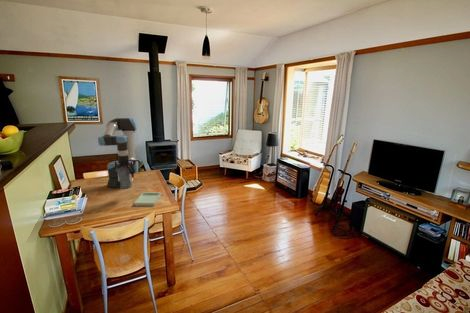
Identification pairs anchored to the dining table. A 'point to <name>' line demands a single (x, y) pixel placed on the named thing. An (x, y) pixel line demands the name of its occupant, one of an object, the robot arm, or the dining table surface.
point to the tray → (147, 199)
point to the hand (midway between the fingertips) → (125, 180)
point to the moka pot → (124, 177)
